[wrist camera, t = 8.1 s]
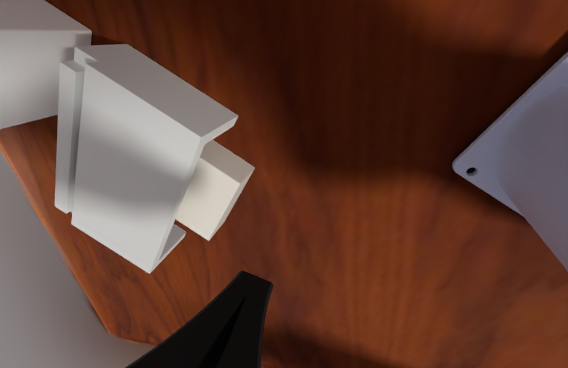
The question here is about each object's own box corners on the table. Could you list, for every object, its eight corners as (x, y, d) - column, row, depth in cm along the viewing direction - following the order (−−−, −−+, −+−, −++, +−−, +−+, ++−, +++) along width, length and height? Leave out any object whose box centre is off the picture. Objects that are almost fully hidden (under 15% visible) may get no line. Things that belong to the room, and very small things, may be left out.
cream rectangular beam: (255, 167, 20) (240, 183, 17) (224, 221, 23) (208, 240, 21) (134, 88, 19) (104, 94, 17) (120, 153, 23) (94, 166, 20)
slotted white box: (238, 115, 18) (201, 137, 14) (184, 237, 25) (149, 273, 21) (127, 43, 18) (60, 46, 14) (103, 185, 25) (54, 213, 21)
